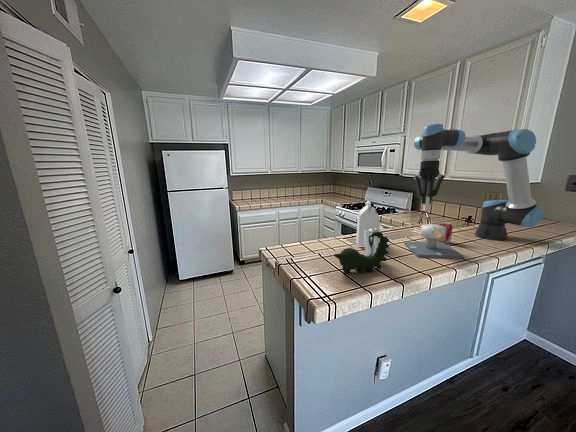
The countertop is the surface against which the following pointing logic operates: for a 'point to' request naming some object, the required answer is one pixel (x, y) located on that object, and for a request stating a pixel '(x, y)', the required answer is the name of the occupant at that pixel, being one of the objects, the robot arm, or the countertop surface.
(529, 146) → the robot arm
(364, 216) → the milk
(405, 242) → the post base
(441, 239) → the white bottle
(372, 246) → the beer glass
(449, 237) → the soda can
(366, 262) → the toy figurine
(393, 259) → the countertop surface
